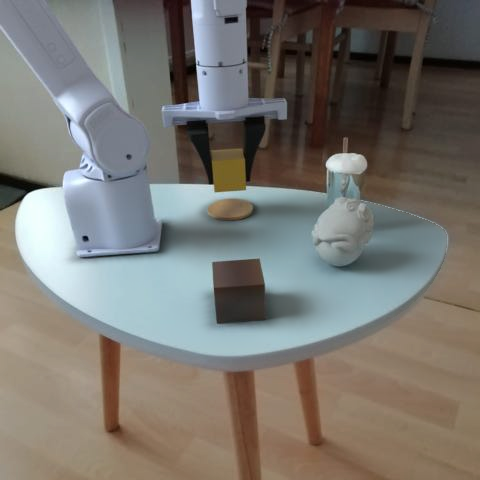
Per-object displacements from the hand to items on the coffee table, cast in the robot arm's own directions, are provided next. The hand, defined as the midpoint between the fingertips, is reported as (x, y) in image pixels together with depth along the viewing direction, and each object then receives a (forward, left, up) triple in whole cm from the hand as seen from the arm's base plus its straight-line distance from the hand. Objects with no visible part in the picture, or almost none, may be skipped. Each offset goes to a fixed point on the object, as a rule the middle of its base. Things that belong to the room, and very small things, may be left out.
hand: (228, 180), depth 63 cm
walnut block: (0, -22, -4) cm, 22 cm away
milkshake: (+13, -7, -4) cm, 16 cm away
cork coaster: (0, 0, -4) cm, 4 cm away
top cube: (0, 0, -1) cm, 1 cm away
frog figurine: (+11, -15, -4) cm, 19 cm away
